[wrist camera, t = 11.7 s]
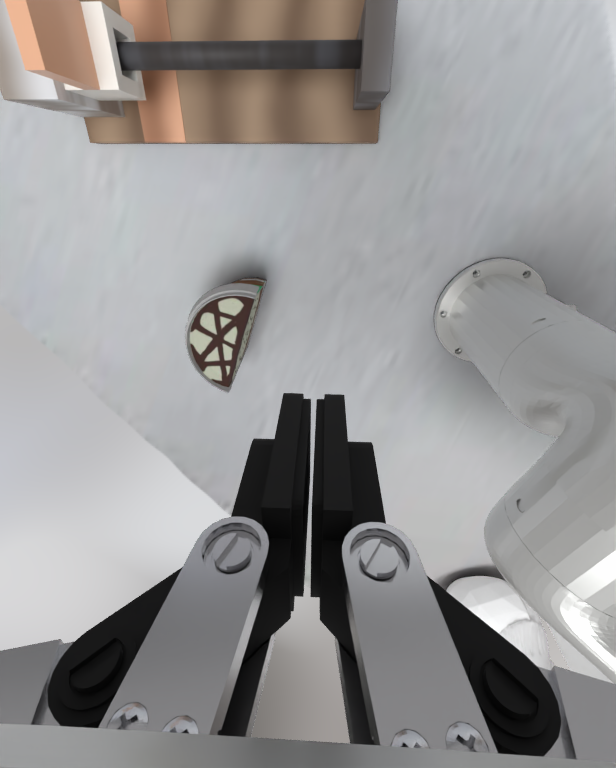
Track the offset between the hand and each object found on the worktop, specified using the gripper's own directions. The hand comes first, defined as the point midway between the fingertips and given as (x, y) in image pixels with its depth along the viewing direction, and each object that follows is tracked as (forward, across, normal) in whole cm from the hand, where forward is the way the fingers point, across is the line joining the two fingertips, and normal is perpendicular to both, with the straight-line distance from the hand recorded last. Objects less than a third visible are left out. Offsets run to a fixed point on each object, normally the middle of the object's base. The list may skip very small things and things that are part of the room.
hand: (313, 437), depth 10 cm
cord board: (+35, +9, -14) cm, 39 cm away
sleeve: (+29, +17, -14) cm, 37 cm away
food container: (+35, +11, +8) cm, 38 cm away
